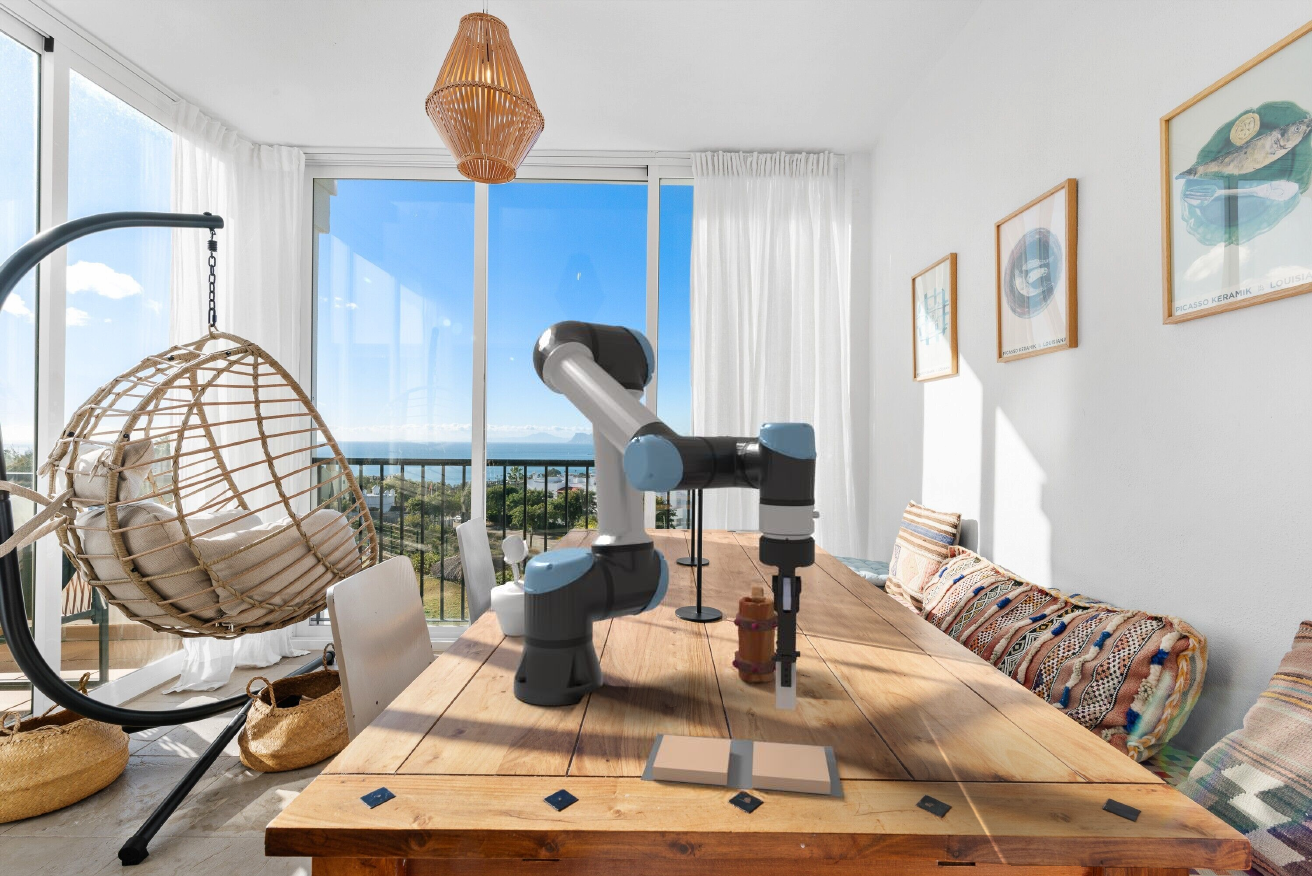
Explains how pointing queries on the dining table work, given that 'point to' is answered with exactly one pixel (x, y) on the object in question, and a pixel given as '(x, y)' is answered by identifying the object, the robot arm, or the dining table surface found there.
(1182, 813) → the dining table surface
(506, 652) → the dining table surface
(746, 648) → the mug
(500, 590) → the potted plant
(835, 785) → the slate board
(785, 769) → the tile right
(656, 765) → the tile left
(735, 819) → the dining table surface
